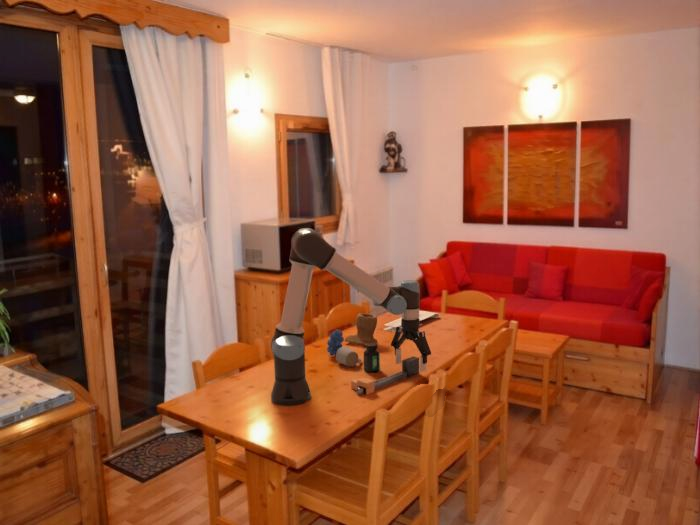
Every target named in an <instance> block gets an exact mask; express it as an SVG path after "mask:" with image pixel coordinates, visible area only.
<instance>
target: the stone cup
mask: <svg viewBox="0 0 700 525" xmlns="http://www.w3.org/2000/svg"><path fill="white" fill-rule="evenodd" d="M377 324H378V317H377V315H375V314H370V313H363V312H362V313H358V314H357V316H356V319H355V325H356V331H357V332H356V334H350V335H348V336H346V337H345V338H344V342H345V343H346V342H347V343H351V344H356V345H363V346H366V344H367V343H376V344H377V343H378V340H377V339H376V338H375V337H374V334H375V330H376V328H377Z"/></svg>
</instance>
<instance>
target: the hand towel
mask: <svg viewBox="0 0 700 525" xmlns="http://www.w3.org/2000/svg"><path fill="white" fill-rule="evenodd" d="M439 316H440V314H439V313H438V312H433V311H432V312H431V311H426V310H425V311H424V310H419V319H420V322H421V321H424V320H426V319H429V318H435V319H438V318H439ZM401 319H402V317H399V318H396V319H395V320H392V321H390V322H388V323H385V324H383V326H385V328H383V329H382V331H386V332H390V331H391V333H396V327H398V326H401ZM420 326H423V323H420ZM420 326H419V327H420ZM392 330H394V331H392ZM401 335H403V332H402V333H401Z"/></svg>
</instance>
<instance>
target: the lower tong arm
mask: <svg viewBox="0 0 700 525" xmlns="http://www.w3.org/2000/svg"><path fill="white" fill-rule="evenodd" d="M415 357H416V358H413V359H410V360H407V361H405V367H406V372H403V373H400V374H398V375H395V376H392V377H390V378H387V379H385V380H382V381H379V382H377V383H374V391H376V390H378V389H381V388H383V387H386V386H388V385H391V384H394V383H396V382H401V381H403V380H406V379H409V378H412V377H415V376H418V375H419V374H420V357H417V356H415Z"/></svg>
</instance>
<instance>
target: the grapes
mask: <svg viewBox="0 0 700 525" xmlns="http://www.w3.org/2000/svg"><path fill="white" fill-rule="evenodd" d="M344 342H345V338H344V337H343V331H341V330H339V329H335V330H334V331H333V332H331V333H330V334H329V339H328V340H327V342H326V344H327V346H328V347H326V348H327V349H326V350H327V352H328V353H329V356H331V357H333V356H336V353H337V351H338V349H339V348H341V347H343V344H342V343H344Z"/></svg>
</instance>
